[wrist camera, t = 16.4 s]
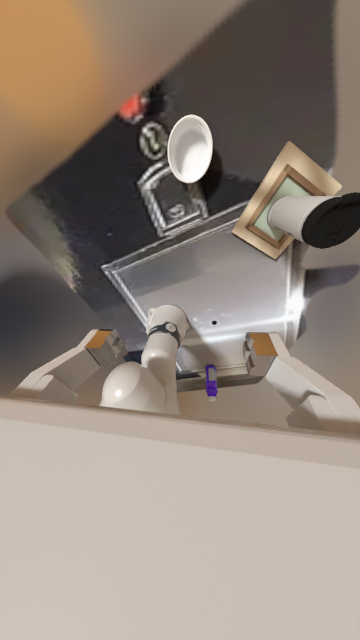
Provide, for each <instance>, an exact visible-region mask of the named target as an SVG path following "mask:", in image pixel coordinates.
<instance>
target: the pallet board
mask: <svg viewBox="0 0 360 640" xmlns="http://www.w3.org/2000/svg"><path fill="white" fill-rule="evenodd" d="M341 188H342V185H340V184H339V183H338V182H337V181H336V180H335V179H333V178H332V177H331V176H330V175H329V174H328V173H326V172H325V171H324V170H323V169H322V168H321V167H319V166H318V165H317V164H316V163H315V162H314V161H312V160H311V159H310V158H309V157H308V156H307V155H305V154H304V153H303V152H302V151H301V150H299V149H298V148H297V147H296V146H295V145H294V144H292V143H291V142H290V141H289V142H288V143H286V145H285V146H284V148H283V149H282V151H281V153H280V154H279V156H278V157H277V159H276V161H275V162H274V164H273V165H272V167H271V169H270V170H269V172H268V173H267V175H266V177H265V178H264V180H263V181H262V183H261V185H260V186H259V188H258V189H257V191H256V192H255V194H254V196H253V197H252V199H251V200H250V202H249V204H248V205H247V207H246V208H245V210H244V212H243V213H242V215H241V216H240V218H239V220H238V221H237V223H236V224H235V226H234V228H233V229H232V231H231V232H232V233H234V234H236V235H237V236H239V237H240V238H242V239H244V240H245V241H247V242H248V243H250V244H252V245H253V246H255V247H256V248H258V249H260V250H261V251H263V252H264V253H266V254H268V255H269V256H271V257H272V258H274V259H276V258H277V257H278V256H279V255H280V254H281V253H282V252H283V251H284V250H285V249H286V247H287V246H288V245H289V244H290V243H291V242H292V241H293V240H294V239H295V238H293V237H290V236H288V235H286V234H284V233H282V232H280V231H278V230H276V229H274V228H271V227H270V226H269V225H268V223H267V214H268V211H269V209H270V207H271V206H272V205H273V203H274V202H275V201H277V200H278V199H280V198H282V197H284V196H334V195H335V194H336V193H337V192H338V191H339V190H340V189H341Z"/></svg>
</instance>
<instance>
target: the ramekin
mask: <svg viewBox="0 0 360 640" xmlns="http://www.w3.org/2000/svg"><path fill="white" fill-rule="evenodd" d="M212 151H213V142H212V136H211V132H210V130H209V127H208V125H207V124H206V123H205V121H204V120H203V119H202V118H200V117H198V116H196V115H188V116H185V117H183V118H182V119H180V120H179V121H178V122H177V123H176V125H175V126H174V128H173V130H172V132H171V134H170V138H169V142H168V160H169V164H170V167H171V170H172V172H173V174H174V175H175V176H176V177H177V178H178V179H179V180H180V181H182V182H184V183H194V182H196V181H198V180H199V179H200V178H202V176H203V175H204V174H205V173H206V171H207V169H208V167H209V164H210V162H211V158H212Z"/></svg>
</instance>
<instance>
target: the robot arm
mask: <svg viewBox="0 0 360 640" xmlns="http://www.w3.org/2000/svg"><path fill="white" fill-rule="evenodd" d="M189 327H190V325H189V323H188V322H187V318H186V315H185V313H184V312H183V311H182V310H181V309H180V308H178V307H176V306H173V305H162V306H160V307H157V308H150V309H149V313H148V320H147V328H146V333H147V334H148V337H147V343H146V346H145V348H144V351H143V353H142V357H141V362H142V365H140V364H138V363H136V362H126V363H123V364H121V365H119V366H118V367H117V368H115V369H114V370H113V371H112V372H111V373H110V374H109V376H108V377H107V379H106V381H105V383H104V386H103V390H102V401H101V403H100V405H99V406H95V405H86V404H77V403H75V401H76V399H77V397H78V395H77V394H76V393H75V392H73V390H75V389H76V388H77V387H78V386H79V385H80V384H81V383H83V382H84V381H85V380H86V379H87V378H88V377H89V376H90V375H92V374H93V373H94V372H95V371H96V370H97V369H98V368H100V366H111V367H112V366H113V364H114V362H115V360H116V359H117V356H116V355H117V354H118V353H120V351H121V349H122V340H121V339H120V338H119V337H118V333H117V331H116V330H105V329H100V330H99V329H93V330H91V331H90V332H89V333H88V335H87V336H86V337H85V338H84V339H83V341H82V342H81V343H80V344H79V345H78V347H77V348H73V349H71V350H70V351H68V352H66V353H65V354H63V355H61V356H59V357H58V358H56V359H54V360H52V361H51V362H49V363H47V364H45V365H44V366H42V367H40V368H39V369H37V370H35V371H33V372H32V373H30V375H29V376H28V377H27V378H26V379H25V380H24V381H23V382H22V383H21V384H20V385H19V386H18V387H17V388H16V389H15V390H14V391H13V392H12V393H11V394H10V395H9V396H4V395H0V640H360V408H359V407H358V406H357V404H356V403H355V402H354V400H353V399H352V398H351V397H350V396H349V395H347V394H346V393H344V392H343V391H342V390H340V389H338V388H337V387H336V386H334V385H333V384H332V383H330V382H329V381H327V380H326V379H325V378H323V377H322V376H320V375H319V374H317V373H316V372H315V371H313V370H312V369H311V368H309V367H308V366H306V365H305V364H303V363H302V362H300V361H299V360H298V359H296V358H295V357H291V356H290V354H289V352H288V350H287V348H286V347H285V345H284V343H283V341H282V339H281V338H280V336H279V334H278V333H277V332H267V333H266V332H247V334H246V341H245V342H244V344H243V355H244V358H245V359H246V360H247V363H246V367H247V371H248V375H254V376H265V378H266V379H267V380H268V381H269V382H270V383H271V385H272V386H273V387H274V388H275V389H276V390H277V391H278V392H279V393H280V395H281V396H282V397H283V398H284V399H285V400H286V401H287V402H288V403H289V405H290V406H291V407H292V408H293V409H294V410H293V411H292V412H291V413H290V414H289V415H288V416H287V417H286V420H287V423H288V426H289V427H284V426H276V425H267V424H258V423H249V422H239V421H231V420H221V419H212V418H203V417H194V416H184V415H180V411H179V407H178V403H177V393H176V373H175V365H176V357H177V351H178V348H179V346H180V342H181V340H182V339H183V338H184V337H185V332H186V331H187V330H188V329H189Z"/></svg>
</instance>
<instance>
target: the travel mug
mask: <svg viewBox="0 0 360 640" xmlns="http://www.w3.org/2000/svg"><path fill="white" fill-rule="evenodd" d="M267 223H268V225H269V226H270V227H271V228H274V229H276V230H278V231H280V232H282V233H284V234H286V235H288V236H290V237H293V238H295V239H297V240H299V241H301V242H303V243H305V244H308V245H311V246H313V247H316V248H320V249H322V248H329V247H332V246H335V245H338V244H340V243H342V242H344V241H346V240H347V239H349V238H350V237H351V236H352V235H353V234H355V233H356V232H357V231H358V230H359V228H360V193H356V192H355V193H349V194H345V195H343V196H284V197H282V198H280V199H278V200H277V201H275V202H274V203H273V205H272V206H271V207H270V209H269V211H268V214H267Z"/></svg>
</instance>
